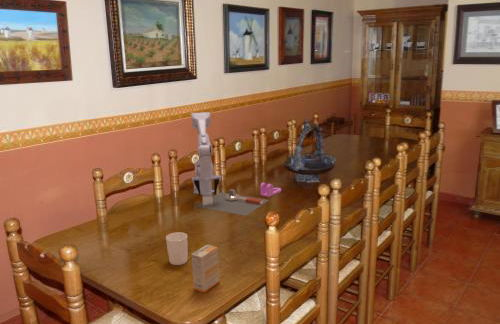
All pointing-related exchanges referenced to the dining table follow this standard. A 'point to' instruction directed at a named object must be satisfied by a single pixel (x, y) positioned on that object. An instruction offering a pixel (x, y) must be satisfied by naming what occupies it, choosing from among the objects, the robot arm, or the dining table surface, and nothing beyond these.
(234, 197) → the ratchet
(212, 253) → the supplement box
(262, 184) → the bracket
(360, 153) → the dining table surface
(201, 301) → the dining table surface
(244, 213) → the mat
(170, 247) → the white cup
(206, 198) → the pale pink cube
